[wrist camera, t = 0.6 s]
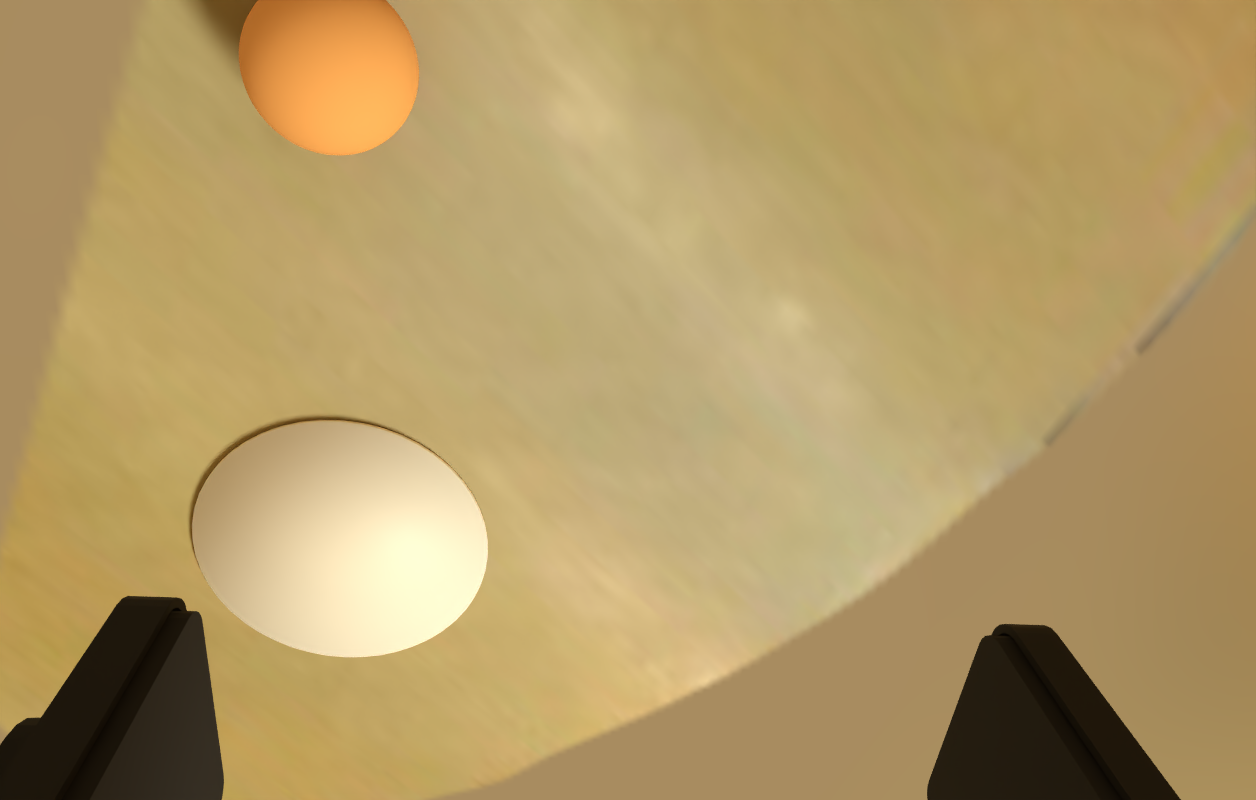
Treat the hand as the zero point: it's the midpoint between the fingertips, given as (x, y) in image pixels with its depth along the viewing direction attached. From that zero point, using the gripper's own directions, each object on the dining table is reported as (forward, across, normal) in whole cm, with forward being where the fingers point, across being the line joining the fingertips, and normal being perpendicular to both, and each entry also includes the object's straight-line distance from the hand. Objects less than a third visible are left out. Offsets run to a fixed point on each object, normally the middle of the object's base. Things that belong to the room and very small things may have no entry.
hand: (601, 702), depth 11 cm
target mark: (+26, +9, +17) cm, 32 cm away
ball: (+23, +8, -4) cm, 25 cm away
